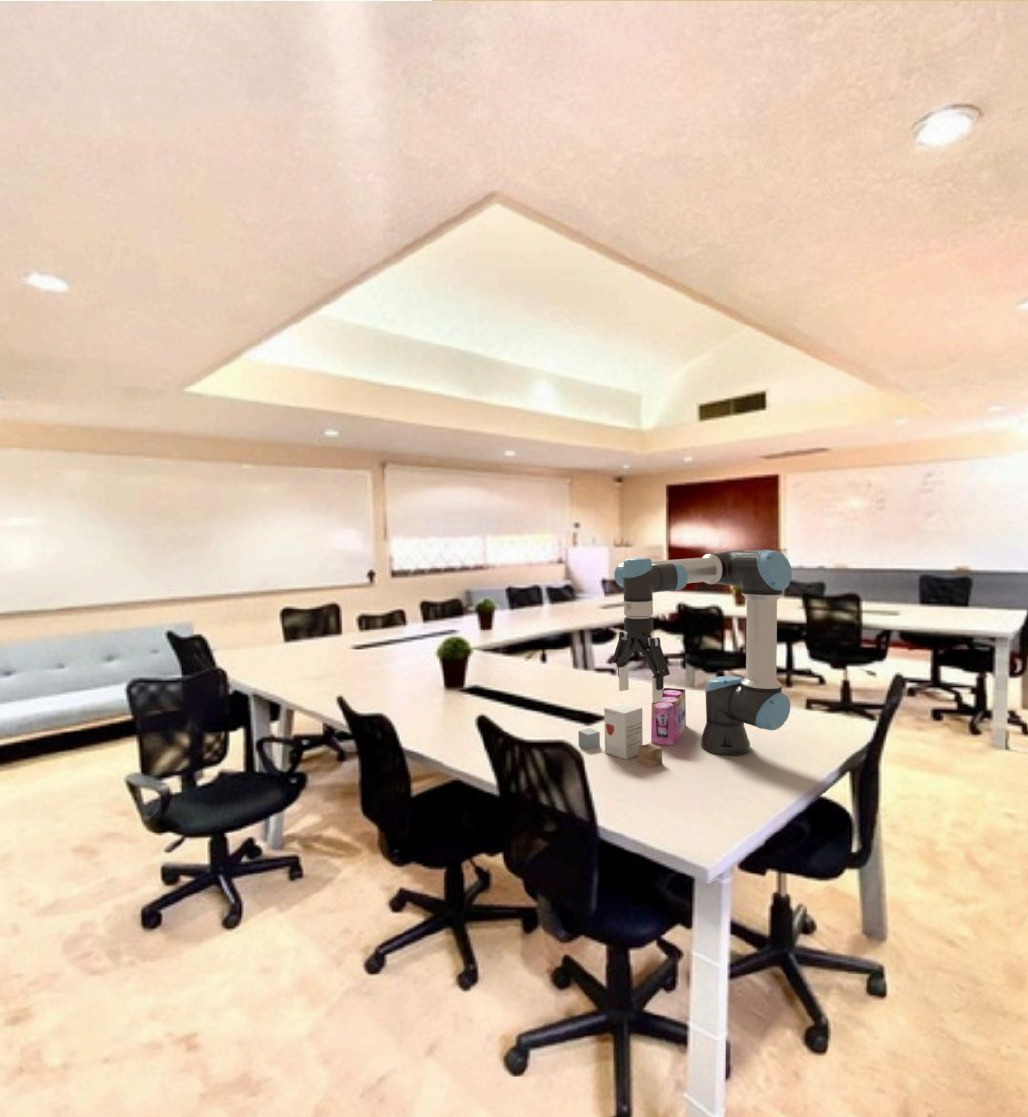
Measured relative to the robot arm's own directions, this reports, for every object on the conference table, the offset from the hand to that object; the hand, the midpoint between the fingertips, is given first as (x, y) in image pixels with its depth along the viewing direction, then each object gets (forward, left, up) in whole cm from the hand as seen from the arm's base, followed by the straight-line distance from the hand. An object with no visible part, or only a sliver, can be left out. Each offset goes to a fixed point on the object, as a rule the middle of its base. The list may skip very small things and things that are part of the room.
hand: (640, 695), depth 159 cm
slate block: (-13, -39, -28) cm, 50 cm away
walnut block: (-19, -17, -28) cm, 38 cm away
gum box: (-43, -32, -28) cm, 61 cm away
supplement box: (-18, -28, -28) cm, 43 cm away
